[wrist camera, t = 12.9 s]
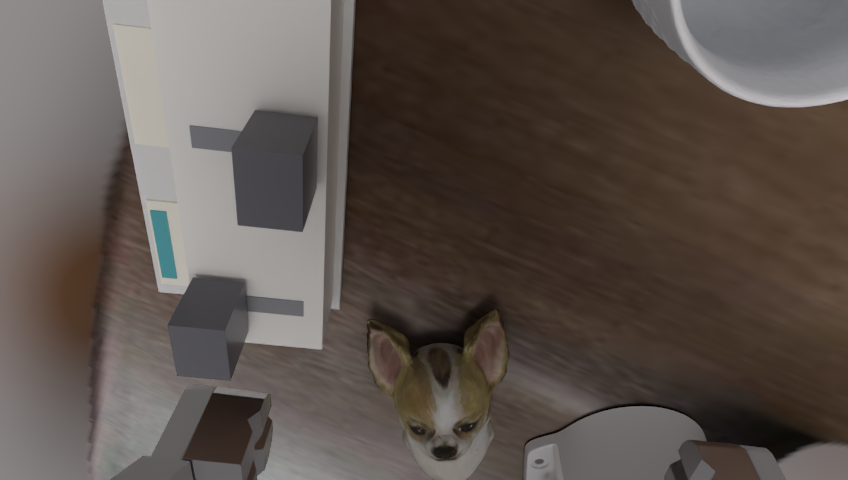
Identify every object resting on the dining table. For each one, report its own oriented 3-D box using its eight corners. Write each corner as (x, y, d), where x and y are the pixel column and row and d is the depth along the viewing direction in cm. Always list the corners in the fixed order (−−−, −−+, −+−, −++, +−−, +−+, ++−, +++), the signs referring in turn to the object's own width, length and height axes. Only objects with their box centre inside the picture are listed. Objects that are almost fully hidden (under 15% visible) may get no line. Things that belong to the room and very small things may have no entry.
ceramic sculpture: (384, 518, 45) (349, 380, 37) (391, 427, 52) (362, 296, 44) (523, 510, 44) (517, 367, 36) (509, 419, 51) (502, 284, 43)
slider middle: (316, 188, 30) (302, 232, 27) (258, 181, 30) (237, 225, 27) (317, 117, 28) (302, 155, 25) (255, 110, 28) (231, 147, 24)
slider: (248, 330, 36) (230, 380, 33) (200, 326, 36) (177, 375, 33) (244, 282, 34) (224, 330, 31) (192, 277, 34) (167, 325, 31)
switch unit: (340, 300, 43) (329, 361, 38) (164, 282, 43) (128, 343, 38) (367, -227, 25) (351, -239, 20) (61, -274, 25) (-33, -299, 20)
